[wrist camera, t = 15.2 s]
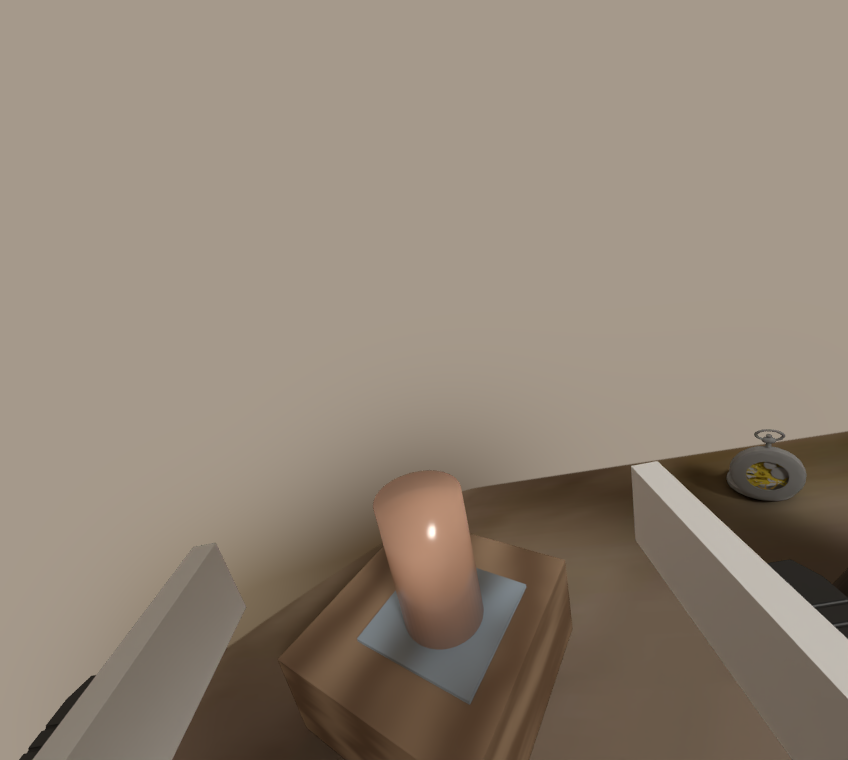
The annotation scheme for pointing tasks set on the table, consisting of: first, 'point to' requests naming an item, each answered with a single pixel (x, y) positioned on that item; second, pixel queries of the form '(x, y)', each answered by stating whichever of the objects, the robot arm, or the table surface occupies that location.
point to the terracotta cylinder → (430, 557)
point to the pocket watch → (766, 471)
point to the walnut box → (435, 665)
